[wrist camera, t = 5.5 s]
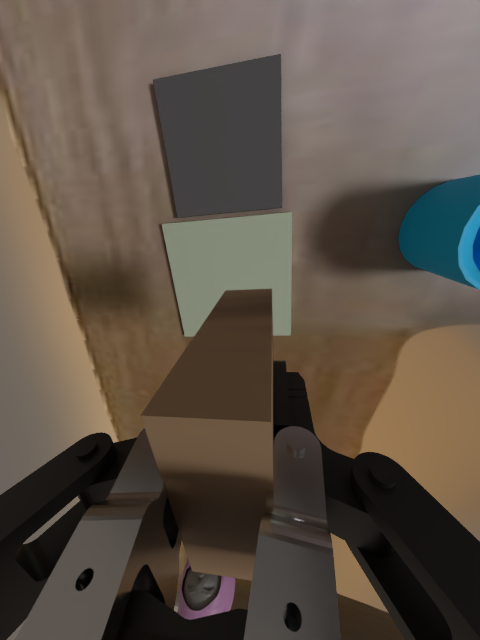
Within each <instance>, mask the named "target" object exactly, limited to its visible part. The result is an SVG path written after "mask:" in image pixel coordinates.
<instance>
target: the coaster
mask: <svg viewBox="0 0 480 640" xmlns="http://www.w3.org/2000/svg"><path fill="white" fill-rule="evenodd" d="M153 83H154V89H155V95H156V100H157V106H158V111H159V117H160V122H161V128H162V134H163V139H164V145H165V150H166V156H167V162H168V167H169V173H170V178H171V184H172V189H173V195H174V201H175V206H176V212H177V217H178V218H180V217H190V216H201V215H211V214H221V213H232V212H242V211H252V210H262V209H273V208H282V159H281V54H278V55H273V56H268V57H263V58H258V59H253V60H248V61H243V62H238V63H233V64H228V65H223V66H218V67H213V68H209V69H204V70H199V71H194V72H189V73H184V74H179V75H174V76H169V77H164V78H159V79H154V80H153Z"/></svg>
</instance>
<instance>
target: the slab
mask: <svg viewBox="0 0 480 640" xmlns="http://www.w3.org/2000/svg"><path fill="white" fill-rule="evenodd" d="M273 361H274V356H273V310H272V289H249V290H225V292H224V293H223V295H222V296H221V298H220V299H219V301H218V302H217V304H216V305H215V307H214V308H213V309H212V311H211V312H210V314H209V315H208V317H207V318H206V320H205V321H204V323H203V324H202V326H201V327H200V329H199V330H198V332H197V333H196V335H195V336H194V338H193V339H192V340H191V342H190V343H189V345H188V346H187V348H186V349H185V351H184V352H183V354H182V355H181V357H180V358H179V360H178V361H177V363H176V364H175V366H174V367H173V368H172V370H171V371H170V373H169V374H168V376H167V377H166V379H165V380H164V382H163V383H162V385H161V386H160V388H159V389H158V391H157V392H156V394H155V395H154V397H153V398H152V399H151V401H150V402H149V404H148V405H147V407H146V408H145V410H144V411H143V413H142V414H141V418H142V421H143V424H144V427H145V430H146V433H147V436H148V440H149V443H150V446H151V449H152V452H153V455H154V458H155V461H156V464H157V467H158V470H159V473H160V476H161V479H162V481H165V483H166V487H167V490H168V496H167V497H168V500H169V503H170V506H171V509H172V512H173V515H174V518H175V521H176V524H177V527H180V530H181V533H182V542H183V545H184V548H185V551H186V554H187V557H188V560H189V563H190V566H191V569H192V571H194V572H200V573H207V574H213V575H220V576H226V577H233V578H239V579H245V580H252V578H253V571H254V564H255V556H256V549H257V542H258V535H259V529H260V523H261V518H262V515H263V514H264V511H265V506H266V498H267V491H273V446H274V436H273Z"/></svg>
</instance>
